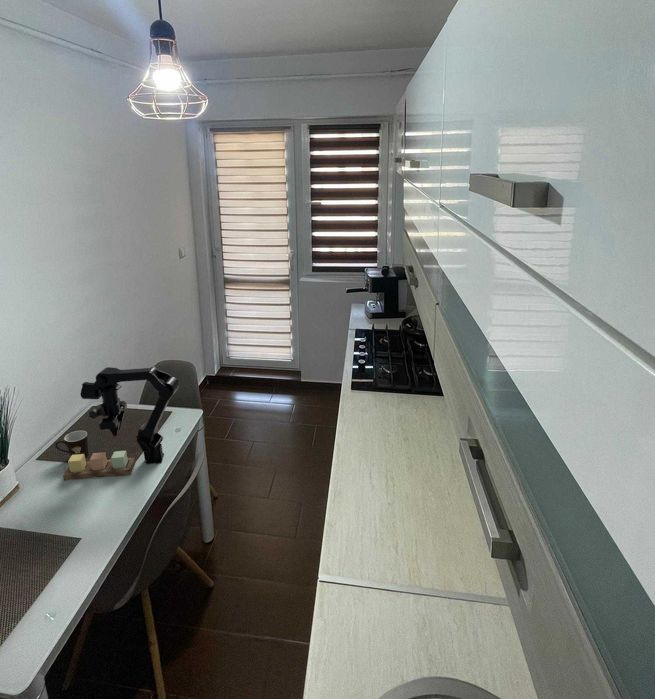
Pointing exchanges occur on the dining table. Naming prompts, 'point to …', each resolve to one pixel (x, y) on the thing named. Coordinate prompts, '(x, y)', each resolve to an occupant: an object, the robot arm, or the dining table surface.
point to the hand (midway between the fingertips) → (116, 433)
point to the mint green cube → (119, 459)
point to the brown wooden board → (100, 471)
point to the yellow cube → (77, 463)
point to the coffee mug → (76, 443)
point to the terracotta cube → (98, 461)
